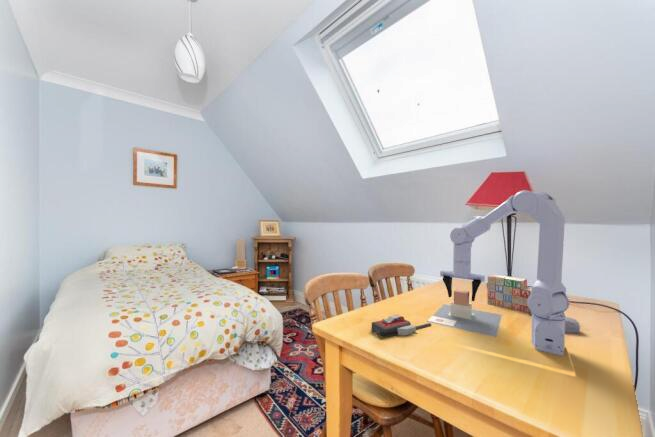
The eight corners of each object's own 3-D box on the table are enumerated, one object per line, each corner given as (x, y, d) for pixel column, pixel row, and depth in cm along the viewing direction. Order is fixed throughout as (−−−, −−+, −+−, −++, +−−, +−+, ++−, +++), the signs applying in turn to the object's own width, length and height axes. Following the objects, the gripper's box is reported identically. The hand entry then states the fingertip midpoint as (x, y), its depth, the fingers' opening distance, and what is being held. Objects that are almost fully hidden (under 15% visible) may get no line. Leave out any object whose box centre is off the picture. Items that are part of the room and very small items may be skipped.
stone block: (549, 337, 89) (584, 334, 87) (545, 322, 89) (580, 318, 87) (529, 325, 100) (560, 321, 98) (526, 311, 101) (557, 308, 99)
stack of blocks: (555, 316, 103) (556, 283, 103) (549, 320, 99) (550, 285, 99) (493, 302, 120) (494, 273, 120) (486, 304, 116) (487, 275, 116)
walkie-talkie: (385, 342, 80) (433, 329, 89) (386, 327, 80) (433, 316, 89) (366, 331, 87) (412, 320, 97) (367, 317, 87) (412, 308, 97)
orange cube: (467, 306, 98) (467, 293, 98) (453, 303, 100) (453, 291, 100) (469, 303, 101) (469, 291, 101) (456, 300, 104) (456, 289, 104)
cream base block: (468, 318, 97) (469, 307, 97) (450, 314, 100) (450, 303, 100) (471, 313, 102) (471, 303, 102) (453, 310, 105) (454, 300, 105)
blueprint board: (496, 339, 82) (496, 336, 82) (426, 324, 93) (426, 321, 93) (501, 317, 101) (501, 314, 101) (443, 306, 113) (443, 304, 113)
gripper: (486, 261, 100) (485, 299, 100) (443, 258, 108) (442, 292, 108) (483, 264, 94) (483, 304, 94) (438, 260, 103) (438, 296, 103)
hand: (461, 298), depth 101 cm, fingers open, 7 cm apart
